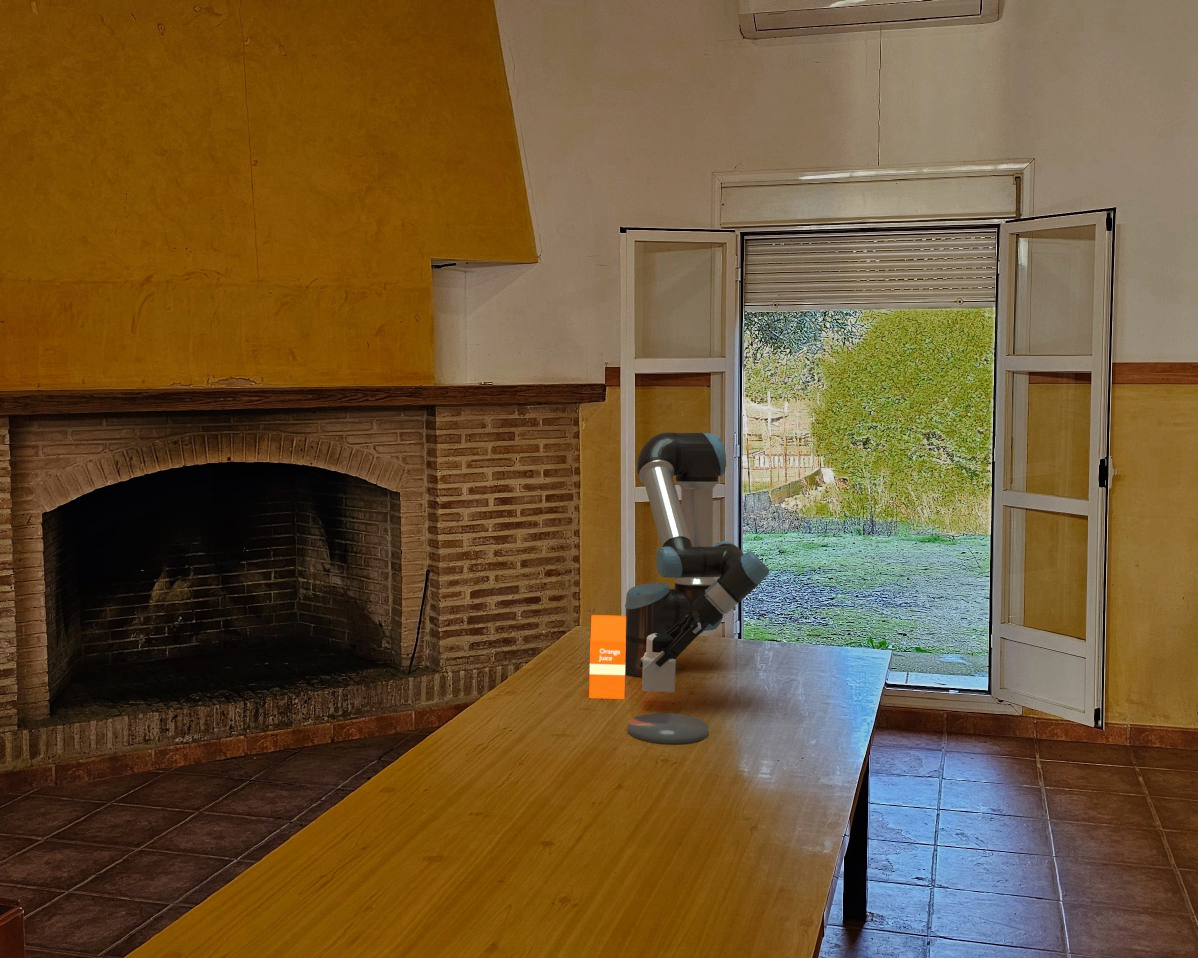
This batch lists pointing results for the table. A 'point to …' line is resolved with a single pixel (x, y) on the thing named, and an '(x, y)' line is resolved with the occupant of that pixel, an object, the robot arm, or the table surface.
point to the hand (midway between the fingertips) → (645, 668)
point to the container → (666, 674)
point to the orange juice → (607, 657)
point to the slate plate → (668, 728)
